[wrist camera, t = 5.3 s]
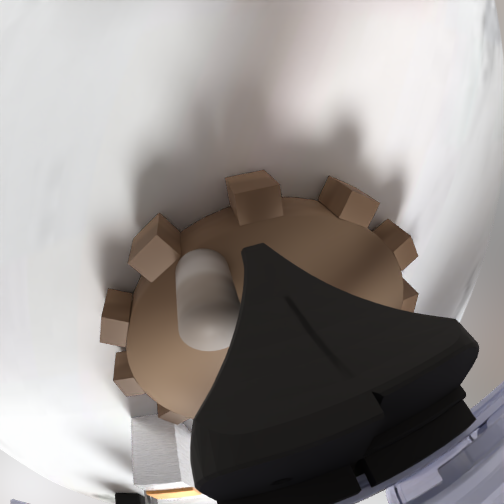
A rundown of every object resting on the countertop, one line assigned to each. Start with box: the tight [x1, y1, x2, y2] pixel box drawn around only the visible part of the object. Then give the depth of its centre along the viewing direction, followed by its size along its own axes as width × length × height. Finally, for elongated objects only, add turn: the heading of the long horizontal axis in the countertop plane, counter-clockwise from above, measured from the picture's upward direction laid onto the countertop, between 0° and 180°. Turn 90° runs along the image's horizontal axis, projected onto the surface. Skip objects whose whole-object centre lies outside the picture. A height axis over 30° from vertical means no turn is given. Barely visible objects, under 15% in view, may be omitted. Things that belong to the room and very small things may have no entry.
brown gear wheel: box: [100, 170, 418, 425], centre depth 14 cm, size 17×17×5 cm
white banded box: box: [131, 414, 207, 501], centre depth 18 cm, size 6×4×6 cm, turn 9°
